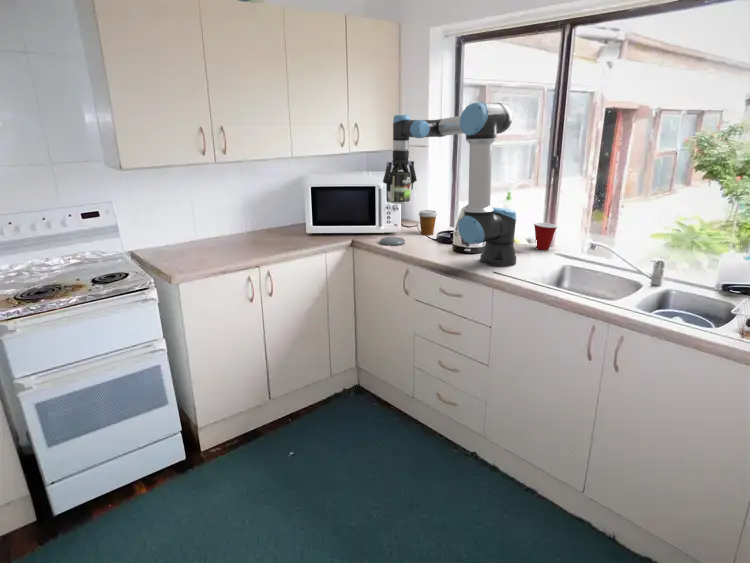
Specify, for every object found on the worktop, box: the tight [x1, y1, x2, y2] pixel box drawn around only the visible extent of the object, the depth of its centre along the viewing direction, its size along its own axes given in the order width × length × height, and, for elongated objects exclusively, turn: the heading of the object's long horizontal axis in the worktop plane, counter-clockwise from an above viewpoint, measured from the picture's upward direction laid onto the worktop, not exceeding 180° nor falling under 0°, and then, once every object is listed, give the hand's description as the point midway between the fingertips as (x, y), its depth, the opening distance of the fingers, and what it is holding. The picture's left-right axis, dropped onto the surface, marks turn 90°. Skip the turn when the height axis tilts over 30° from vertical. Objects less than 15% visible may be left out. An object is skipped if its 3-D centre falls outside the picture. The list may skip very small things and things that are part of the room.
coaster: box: [380, 236, 406, 247], centre depth 248 cm, size 12×12×2 cm
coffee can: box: [388, 170, 411, 205], centre depth 240 cm, size 10×10×14 cm
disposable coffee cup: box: [418, 209, 438, 236], centre depth 264 cm, size 10×10×12 cm
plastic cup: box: [533, 222, 558, 251], centre depth 236 cm, size 11×11×12 cm
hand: (399, 197), depth 241 cm, fingers closed on coffee can, 10 cm apart
